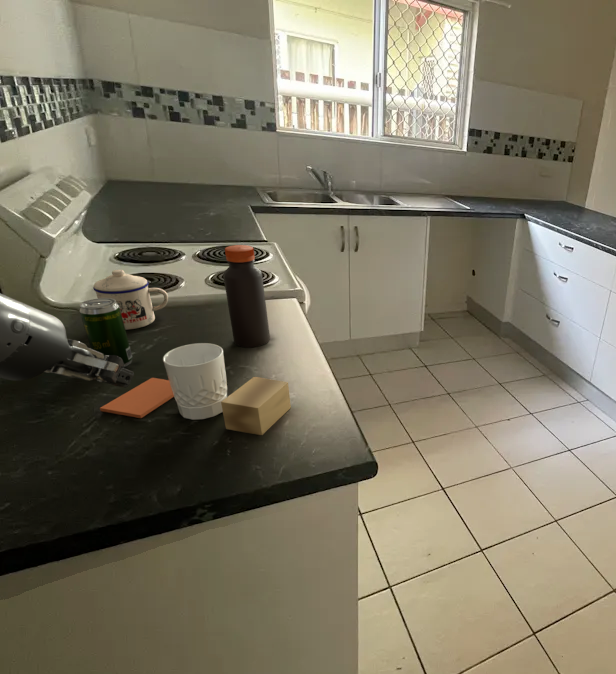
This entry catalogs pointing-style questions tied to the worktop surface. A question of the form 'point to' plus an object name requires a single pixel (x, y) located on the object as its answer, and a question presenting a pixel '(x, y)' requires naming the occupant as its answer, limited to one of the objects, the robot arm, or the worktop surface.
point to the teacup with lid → (130, 297)
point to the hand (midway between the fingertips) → (126, 379)
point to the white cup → (197, 379)
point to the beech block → (256, 405)
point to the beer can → (106, 328)
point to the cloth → (141, 399)
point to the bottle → (245, 297)
